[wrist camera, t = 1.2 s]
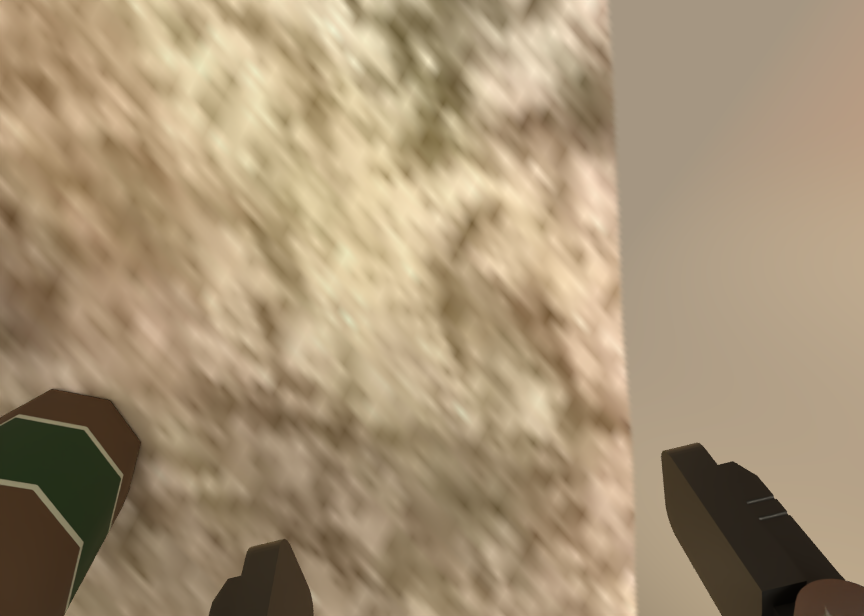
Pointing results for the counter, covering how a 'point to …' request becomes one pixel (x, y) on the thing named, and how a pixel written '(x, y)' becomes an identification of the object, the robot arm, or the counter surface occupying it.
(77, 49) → the counter surface
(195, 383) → the counter surface
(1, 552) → the beer bottle
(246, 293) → the counter surface
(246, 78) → the counter surface
